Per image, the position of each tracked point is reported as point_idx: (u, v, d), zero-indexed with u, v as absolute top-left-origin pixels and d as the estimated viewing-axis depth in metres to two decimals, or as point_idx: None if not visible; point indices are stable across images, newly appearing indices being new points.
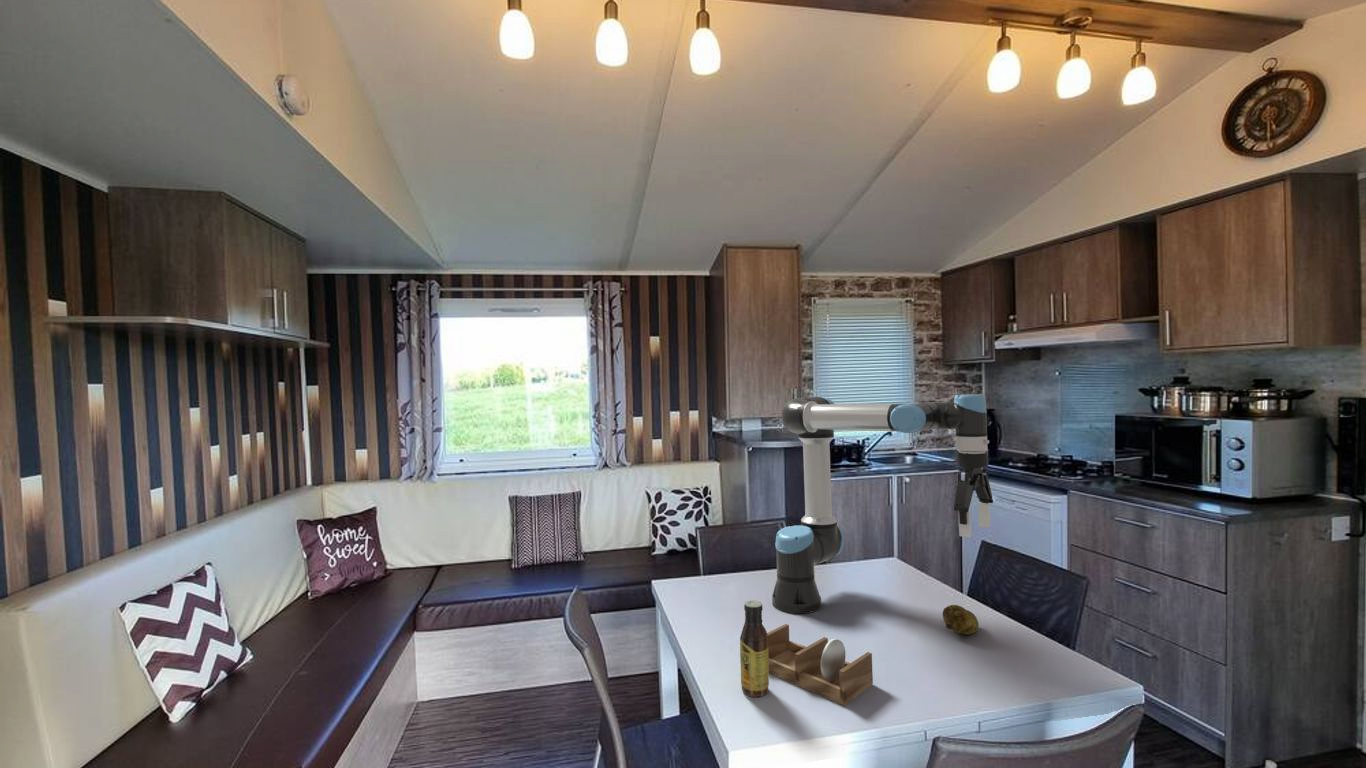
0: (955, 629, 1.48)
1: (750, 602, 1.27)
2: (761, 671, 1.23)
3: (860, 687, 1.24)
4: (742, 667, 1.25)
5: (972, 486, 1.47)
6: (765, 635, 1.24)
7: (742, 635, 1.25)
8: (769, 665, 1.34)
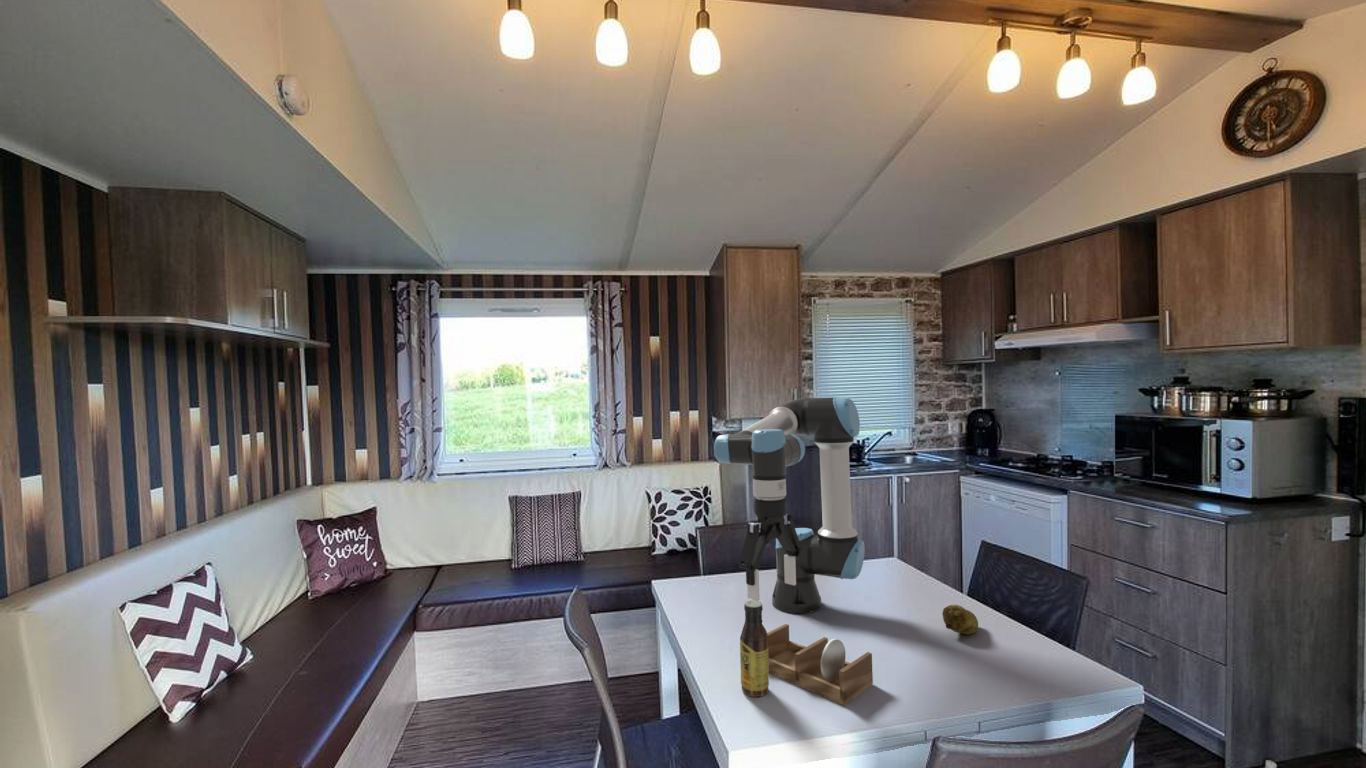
0: (955, 629, 1.49)
1: (750, 602, 1.27)
2: (761, 671, 1.23)
3: (860, 687, 1.24)
4: (742, 667, 1.25)
5: (764, 539, 1.24)
6: (765, 635, 1.24)
7: (742, 635, 1.25)
8: (769, 665, 1.34)
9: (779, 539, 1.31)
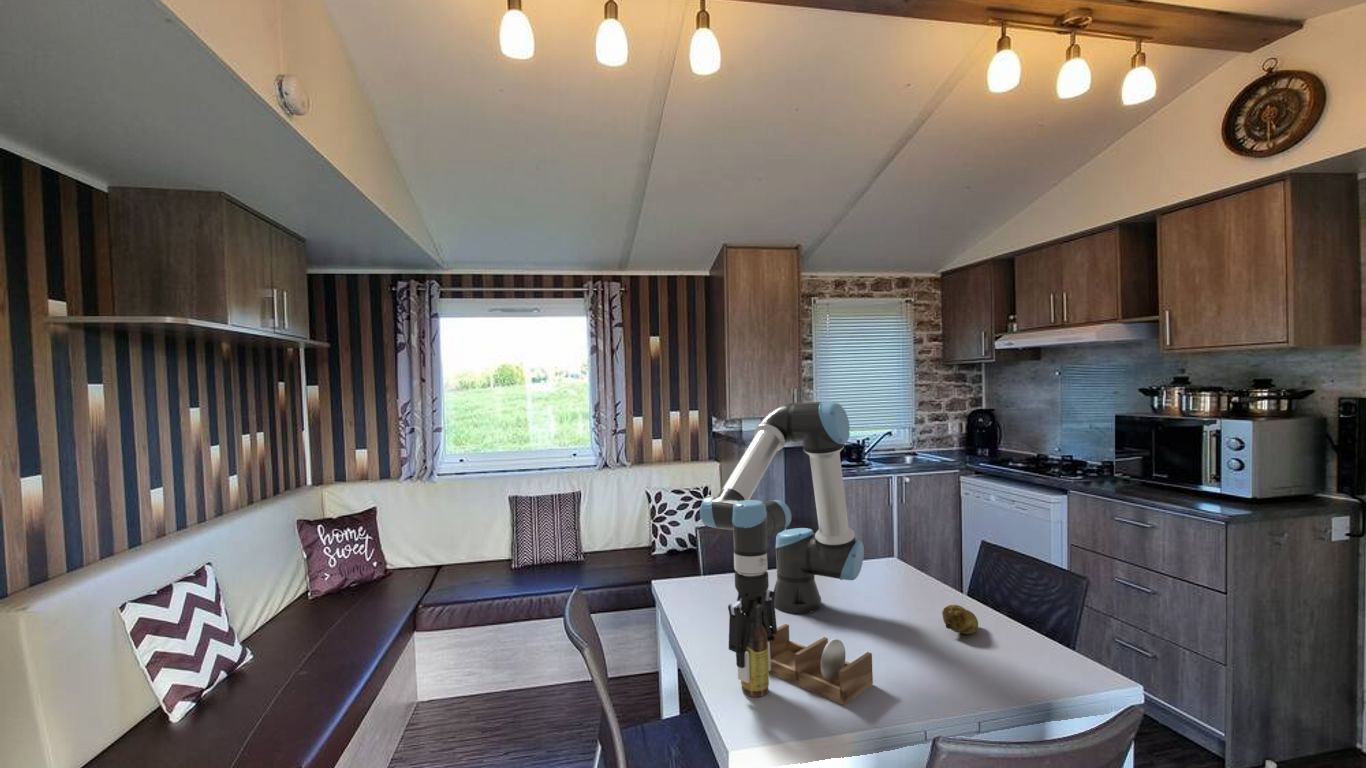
0: (955, 629, 1.49)
1: None
2: (761, 671, 1.23)
3: (860, 687, 1.24)
4: None
5: (748, 618, 1.23)
6: (765, 635, 1.24)
7: None
8: None
9: None
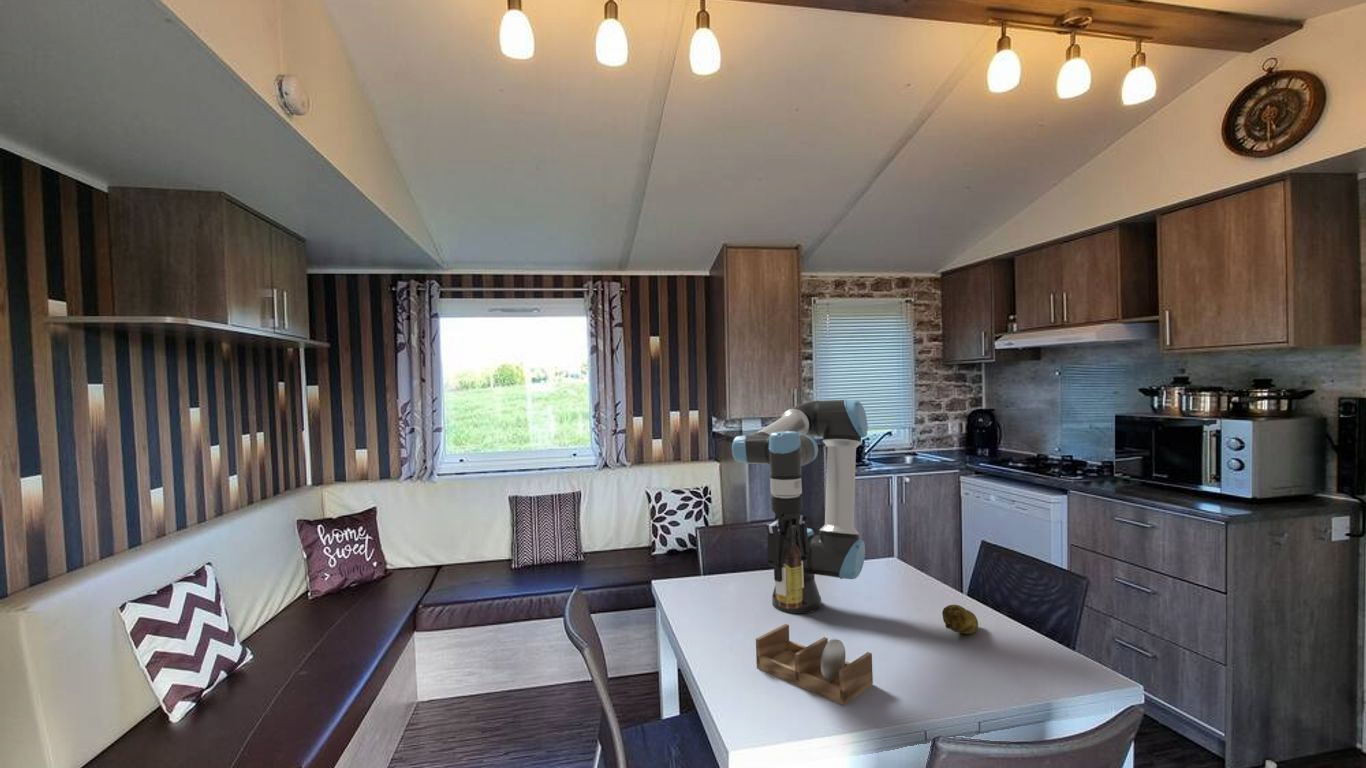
0: (955, 629, 1.49)
1: None
2: (796, 585, 1.34)
3: (860, 687, 1.24)
4: None
5: (784, 537, 1.34)
6: (799, 553, 1.35)
7: None
8: (769, 665, 1.34)
9: None
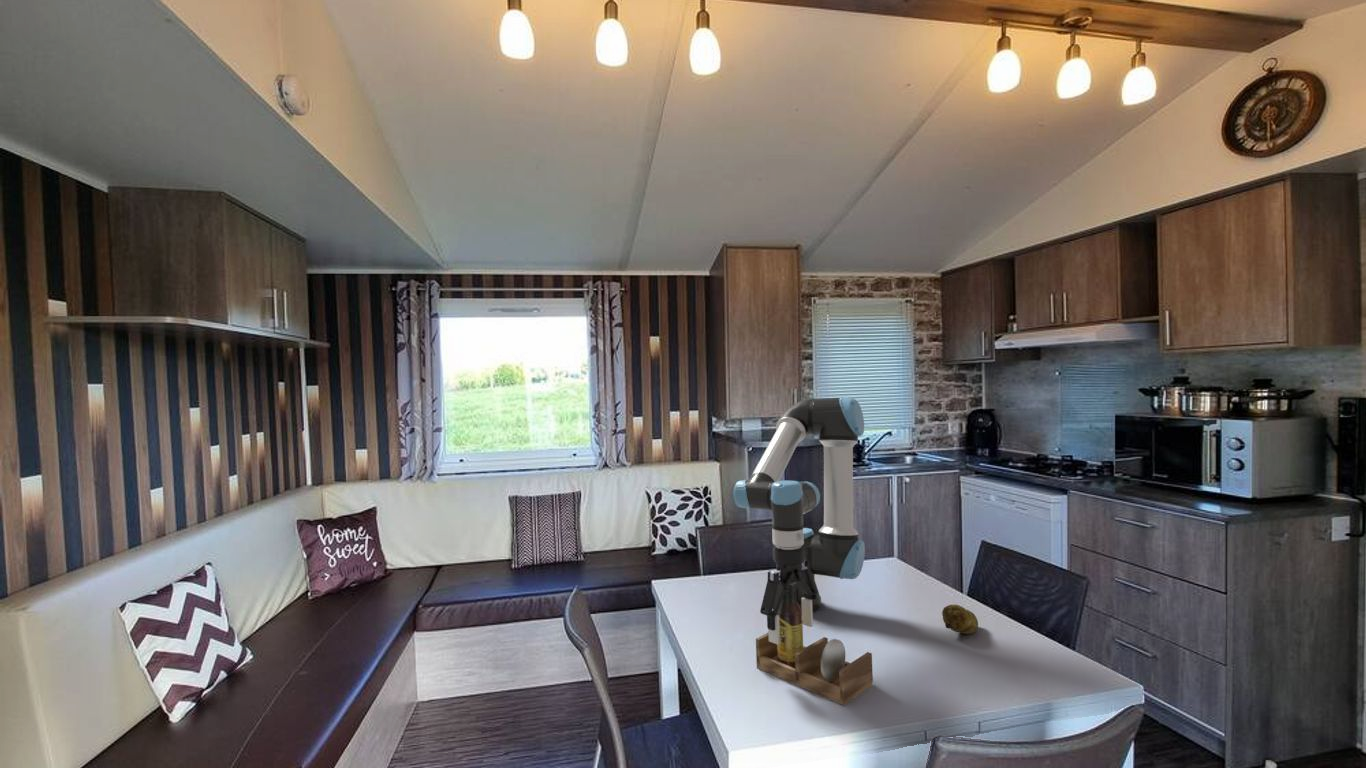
0: (954, 628, 1.49)
1: None
2: (797, 643, 1.34)
3: (860, 687, 1.24)
4: None
5: (784, 586, 1.33)
6: (800, 610, 1.35)
7: (778, 611, 1.36)
8: (769, 665, 1.34)
9: (797, 584, 1.40)
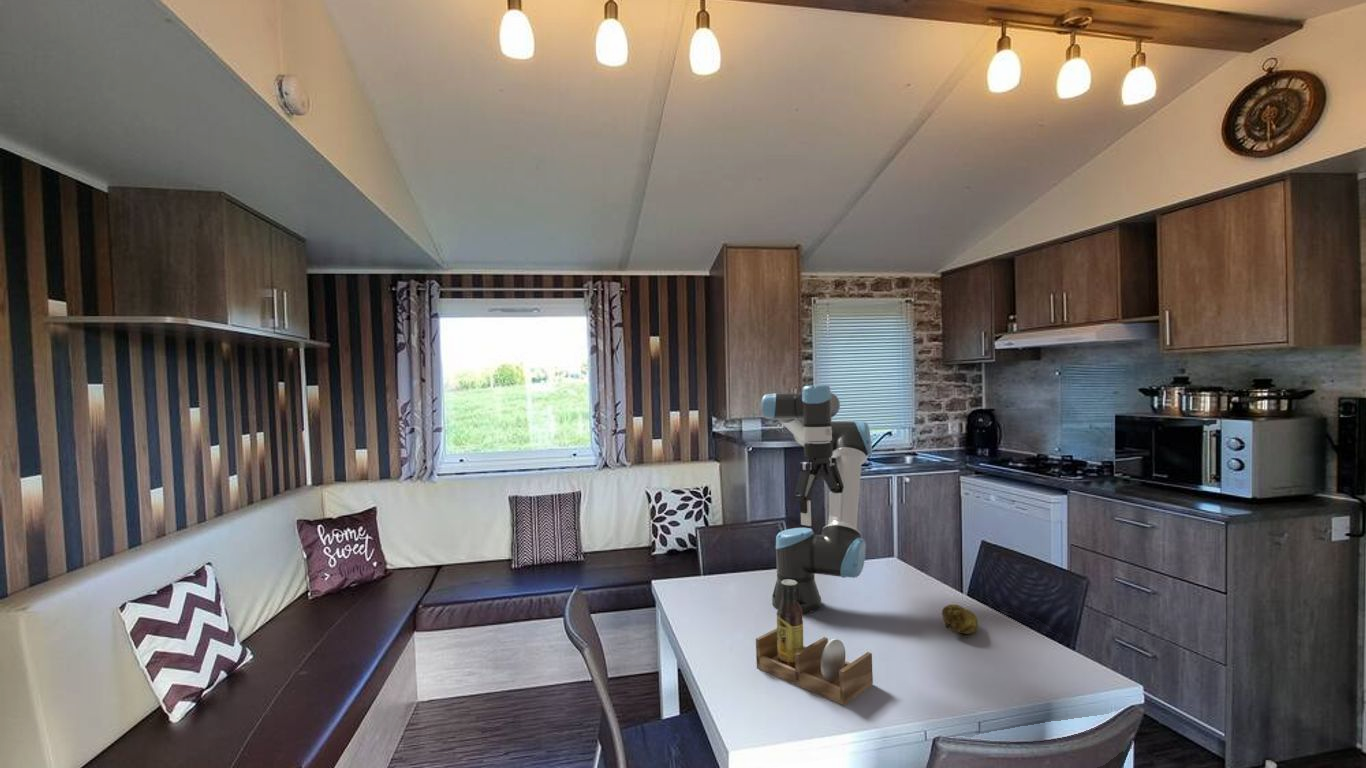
0: (954, 628, 1.49)
1: (785, 580, 1.37)
2: (797, 644, 1.34)
3: (860, 687, 1.24)
4: (779, 641, 1.35)
5: (814, 475, 1.49)
6: (800, 611, 1.35)
7: (779, 611, 1.36)
8: (769, 665, 1.34)
9: (825, 478, 1.56)
